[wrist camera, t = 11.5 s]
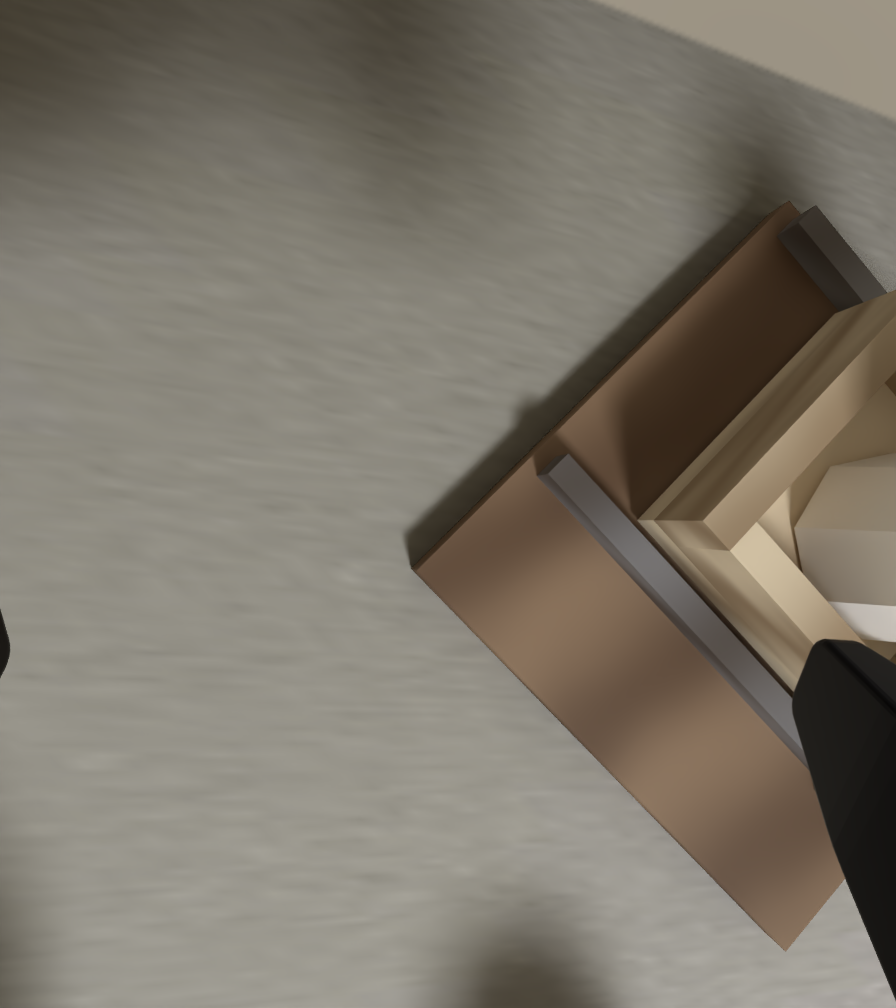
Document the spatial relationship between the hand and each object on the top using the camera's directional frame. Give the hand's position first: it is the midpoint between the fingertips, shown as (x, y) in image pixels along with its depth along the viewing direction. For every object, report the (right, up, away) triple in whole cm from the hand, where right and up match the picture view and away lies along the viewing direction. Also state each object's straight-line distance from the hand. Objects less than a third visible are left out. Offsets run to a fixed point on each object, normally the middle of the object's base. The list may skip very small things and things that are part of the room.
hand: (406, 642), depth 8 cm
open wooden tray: (+11, 0, +15) cm, 18 cm away
